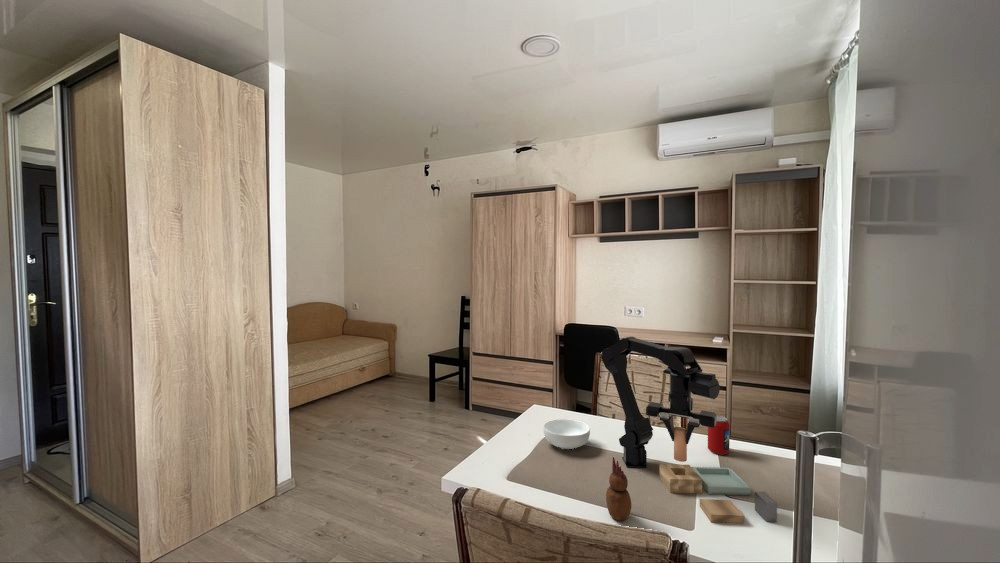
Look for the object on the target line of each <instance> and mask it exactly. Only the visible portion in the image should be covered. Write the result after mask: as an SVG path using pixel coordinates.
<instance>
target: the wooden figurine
mask: <svg viewBox="0 0 1000 563" xmlns="http://www.w3.org/2000/svg"><path fill="white" fill-rule="evenodd" d="M611 469H612V470H611V471H612V472H611V473H610V475H609V479H608V483H609V486H608V488H606V492H605V500H606V507H607V511H608V514H609V516H610V517H611V518H612V519H614V520H615V521H619V522H622V521H625V520H627V519H628V518H629V516H630V514H631V512H632V511H631V510H632V500H631V499H632V498H631V495H630V493H629V491H628V489H627V488H628V484H629V483H628V477H627V475H626V474H625V473H624V470H622V466H619V461H618V460H617V461H616V460H615V457H614V456H612V468H611Z"/></svg>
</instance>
